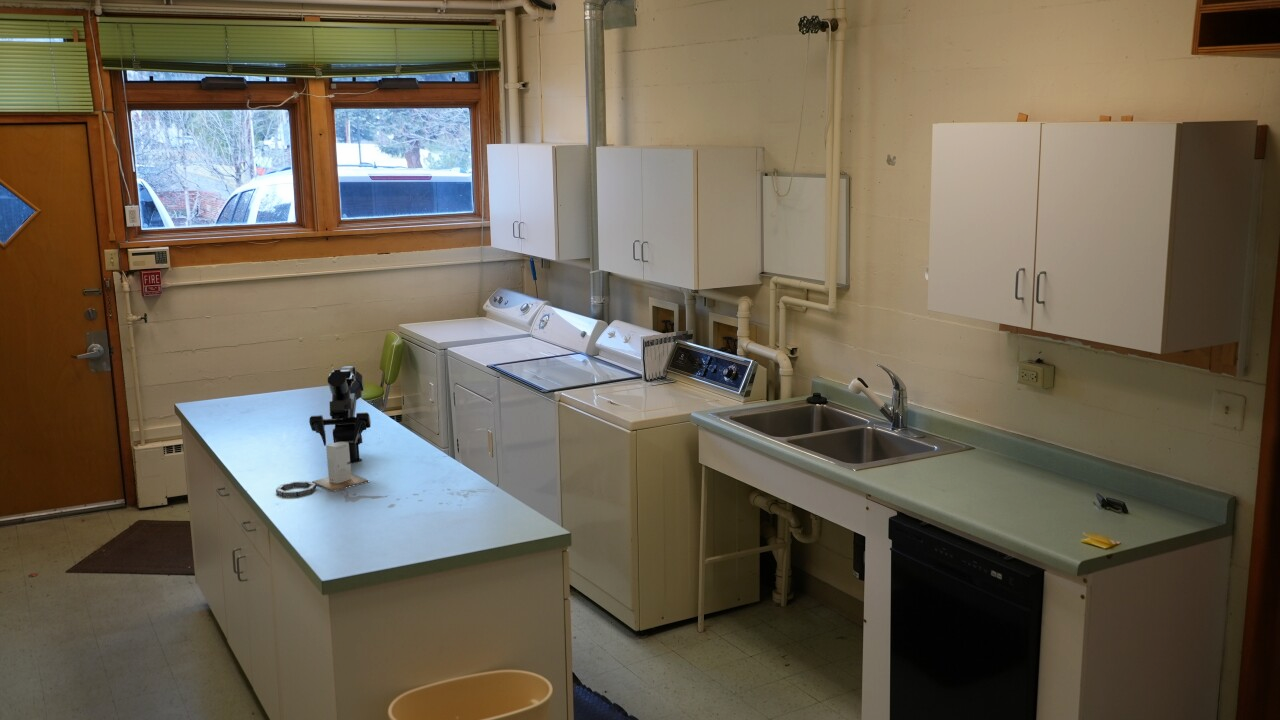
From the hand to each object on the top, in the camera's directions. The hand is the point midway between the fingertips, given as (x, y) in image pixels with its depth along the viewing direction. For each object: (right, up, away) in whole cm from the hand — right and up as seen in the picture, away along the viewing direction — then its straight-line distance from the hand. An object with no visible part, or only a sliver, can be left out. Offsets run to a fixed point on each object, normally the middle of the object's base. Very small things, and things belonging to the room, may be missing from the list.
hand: (339, 444), depth 355 cm
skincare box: (+1, -12, -2) cm, 12 cm away
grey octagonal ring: (-11, -14, -11) cm, 20 cm away
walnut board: (+1, -12, -3) cm, 12 cm away
